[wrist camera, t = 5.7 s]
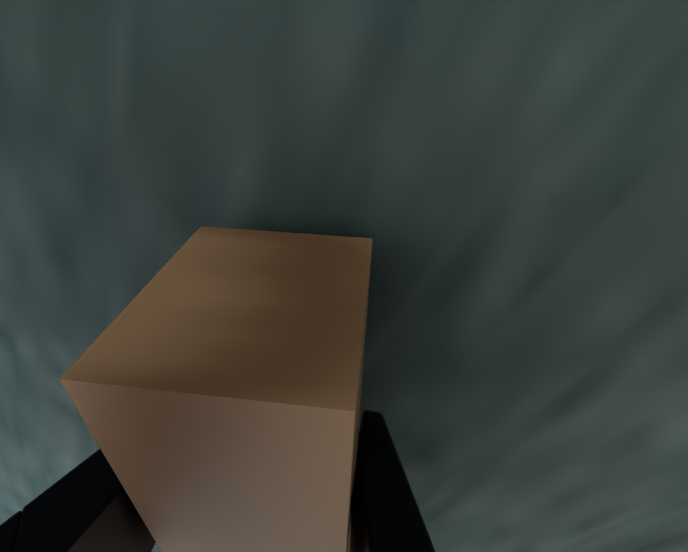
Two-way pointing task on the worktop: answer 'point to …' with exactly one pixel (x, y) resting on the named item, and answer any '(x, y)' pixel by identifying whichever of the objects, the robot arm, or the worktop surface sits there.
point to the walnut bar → (236, 391)
